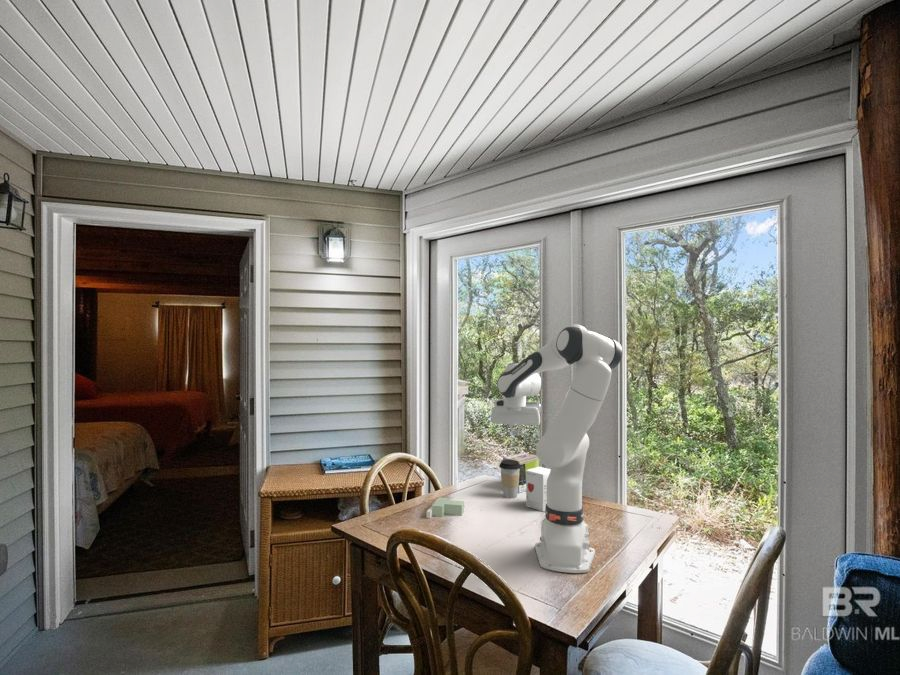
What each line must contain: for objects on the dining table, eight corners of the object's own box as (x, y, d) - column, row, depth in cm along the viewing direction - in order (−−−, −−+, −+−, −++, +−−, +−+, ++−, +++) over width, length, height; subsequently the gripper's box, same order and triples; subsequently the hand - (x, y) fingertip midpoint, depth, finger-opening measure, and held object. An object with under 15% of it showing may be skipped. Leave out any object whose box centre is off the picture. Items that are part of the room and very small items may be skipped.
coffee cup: (518, 500, 198) (518, 465, 199) (497, 498, 201) (497, 463, 202) (522, 494, 207) (522, 460, 207) (501, 492, 210) (501, 458, 210)
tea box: (524, 482, 225) (523, 451, 225) (540, 487, 217) (540, 455, 218) (502, 488, 215) (502, 456, 216) (519, 493, 208) (518, 460, 208)
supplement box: (525, 506, 191) (525, 469, 192) (538, 501, 197) (538, 466, 198) (543, 512, 185) (542, 474, 185) (556, 506, 191) (556, 470, 191)
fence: (455, 520, 175) (455, 514, 176) (426, 518, 178) (426, 511, 178) (464, 506, 191) (464, 500, 191) (438, 504, 194) (438, 498, 194)
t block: (459, 518, 178) (459, 507, 178) (432, 515, 181) (432, 505, 181) (465, 509, 188) (465, 499, 188) (439, 507, 190) (439, 497, 190)
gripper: (541, 401, 193) (541, 434, 193) (492, 400, 198) (492, 432, 198) (540, 403, 187) (540, 437, 186) (490, 401, 192) (490, 435, 192)
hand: (515, 435), depth 192 cm, fingers closed
